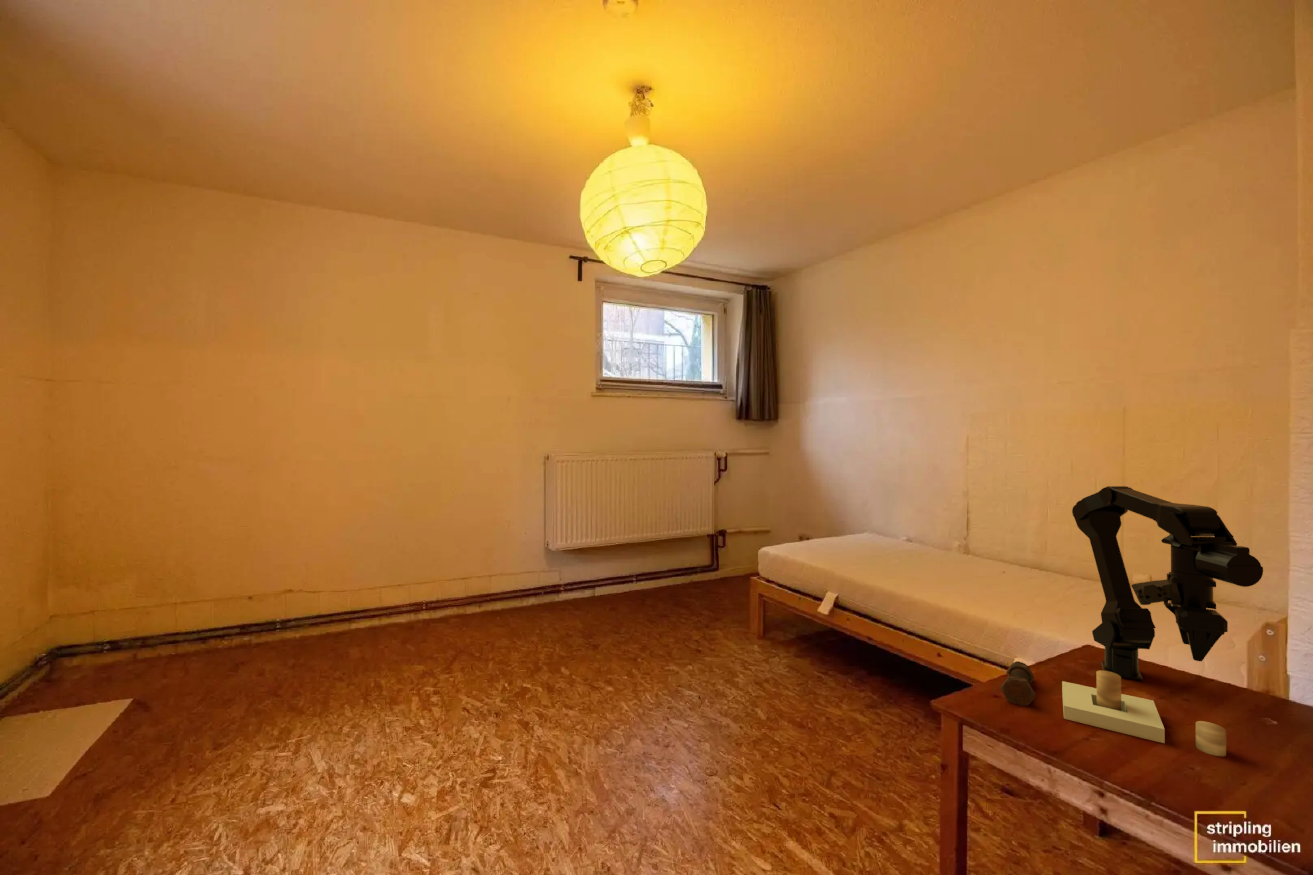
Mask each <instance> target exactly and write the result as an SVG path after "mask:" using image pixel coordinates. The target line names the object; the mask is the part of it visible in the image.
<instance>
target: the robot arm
mask: <svg viewBox="0 0 1313 875" xmlns="http://www.w3.org/2000/svg"><path fill="white" fill-rule="evenodd" d="M1071 510H1072V511H1071V512H1072V513H1071V514H1072V517H1073V518H1074V521H1075V523H1076V525H1077V528H1078V529H1079V530H1080V531H1081V532H1082V533H1083V534H1084V535H1085V536H1086V537H1087V538H1088V539H1089V542H1090V546H1091V550H1092V553H1093V556H1094V558H1093V559H1094V561H1095V564H1096V568H1097V571H1098V576H1099V579H1100V583H1101V587H1102V591H1103V596H1104V598H1105V604H1104V605H1103V607H1102V609H1101V612H1100V618H1101V623H1100V624H1099V625H1097V627H1095V628H1094V629H1093V630H1092V631H1091V632H1092V633H1091V634H1092V637H1093V640H1094V642H1096V643H1098V644H1100V646H1101V645H1102V646H1103V647H1104V661H1102V660H1101V668H1102V670H1103V671H1109V672H1113V673H1116V674H1118V675H1120V676H1121V678H1126V679H1131V680H1136V681H1143V680H1144V678H1143V676H1142V673H1141V671H1140V669H1139V649H1140V650H1150V649H1151V646H1152V643H1153V641H1154V638H1156V637H1155V636H1156V630H1155V629H1156V625H1155V624H1154V621H1153V618H1152V612H1151V610H1149V608H1147V607H1146V608H1145V607H1141V606H1140V605H1142V606H1149V605H1152V604H1153V603H1155V604H1157V603H1163V605H1164V607H1165V608H1166V609H1167V610H1169V611H1170V613H1172V614H1173V615H1174V617H1175V623H1176V624H1177V627H1178V630H1179V634H1180V639H1181V641H1182V643H1183V644H1184V645H1188V646H1189V647H1190V653H1191V656H1192V659H1193V660H1194V661H1196V662H1203V661H1204V659H1205V658H1206V657H1207V655H1208V654H1209V652H1210V651H1211V650H1212V648H1213V647H1214V645H1215V644H1216V643H1217V641H1219V639H1220V638H1221V636H1224V635H1225V633H1228V632H1229V631H1228V628H1229V627H1228V625H1229V624H1228V620H1227V619H1226V618H1225V617H1224V616H1223V615H1222V614H1221V613H1219V612H1218V611H1217V603H1216V602H1215V601H1214V588H1217V581H1216V580H1218V581H1221V582H1225V583H1229V584H1231V585H1235V586H1238V587H1243V588H1246V587H1247V588H1248V587H1252V586H1254V585H1256V584H1257V583H1258V582H1259V581H1260V580H1261V579H1262V577H1263V574H1264V567H1263V566H1262V564H1261V561H1259V559H1257V558H1256V557H1255V556H1253V555H1251V552H1250V551H1251V550H1250V547H1247V546H1243V545H1238V543H1237V541H1236V540H1235V538H1234V535H1233V534H1232V533H1231V531H1230V530H1229V529H1228V527H1227V526H1226V524H1225V523H1224V522H1223V520H1222V518H1221V516H1220V515H1219V514H1218V511H1217V510H1216V509H1214V508H1212V507H1210V506H1206V505H1205V506H1204V505H1197V504H1189V503H1178V502H1177V503H1176V502H1172V501H1168V500H1166V499H1162V498H1159V497H1157V496H1153V495H1151V494H1147V493H1145V492H1143V491H1142V492H1141V491H1138V490H1135V489H1133V488H1132V487H1131V486H1130V487H1129V486H1127V485H1126V486H1125V485H1123V486H1122V485H1117V486H1116V485H1113V486H1112V485H1111V486H1110V485H1109V486H1105V487H1103V488H1100V490H1099V491H1097V492H1095V493H1093V494H1090V495H1087V496H1086V497H1083V498H1081V500H1078V501H1077V502H1076V504H1075V505H1073V507H1072V509H1071ZM1128 512H1132V513H1134V514H1137V515H1140V516H1143V517H1145V518H1148V519H1150V520H1153V521H1154V522H1156V524H1157V527H1158V528H1160V529H1162V531H1165V532H1166V533H1168V535H1166V536H1164V537H1163V538H1162V539H1161V543H1163V544H1167V545H1170V571H1168V572H1167V573H1166V579H1160V580H1150V581H1145V582H1137V583H1133V584H1131V583H1130V579H1129V576H1128V573H1127V570H1126V567H1125V561H1124V559H1123V555H1122V552H1121V549H1120V545H1119V540H1118V538H1117V536H1118V533H1119V531H1120V528H1121V527H1122V521H1121V520H1122V519H1121V517H1123V515H1125V514H1128ZM1132 590H1133V591H1132ZM1133 592H1134V594H1135V596H1136V598H1137V601H1138V602H1139V604H1138V602H1137V601H1136V600H1135V597H1134V594H1133Z"/></svg>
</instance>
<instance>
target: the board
mask: <svg viewBox="0 0 1313 875" xmlns="http://www.w3.org/2000/svg"><path fill="white" fill-rule="evenodd" d="M1061 689H1062V690H1061V695H1062V708H1063V709H1062V711H1063V719H1064V720H1068V721H1073V722H1075V723H1081V724H1085V725H1088V726H1092V727H1097V728H1099V729H1100V728H1101V729H1103V730H1104V729H1105V730H1109V731H1113V732H1117V733H1120V734H1125V735H1128V736H1133V737H1137V738H1141V739H1146V740H1148V741H1154V742H1158V743H1162V744H1165V743H1166V742H1165V741H1166V740H1165V739H1166V738H1165V737H1166V736H1165V735H1166V734H1165V733H1166V732H1165V731H1166V729H1165V727H1164V724H1163V722H1162V719H1161V716H1160V714H1159V712H1158V708H1157V707H1156V703H1155V701H1154V700H1152V699H1147V698H1143V697H1138V696H1134V695H1128V694H1123V693H1121V711H1118V710H1114V709H1109V708H1105V707H1101V706H1097V687H1091V686H1087V685H1082V684H1078V683H1073V682H1068V681H1063V680H1062V681H1061Z"/></svg>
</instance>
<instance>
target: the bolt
mask: <svg viewBox="0 0 1313 875" xmlns="http://www.w3.org/2000/svg"><path fill="white" fill-rule="evenodd" d="M1008 674H1010V675H1009V676H1008ZM1006 675H1007V678H1006V679H1005V680H1004V681H1003V682H1002V684H1001V685H1000V690H1001V692H1002V694H1003V695H1004V697H1005V698H1006V700H1007V701H1008V702H1009V703H1011V704H1014V705H1018V706H1022V707H1028V706H1029V705H1030V704H1031V703H1032V702H1033V700H1034V699H1035V698H1036V692H1035V691H1034V689H1033V687H1032V686H1031V685H1032V684H1031V683H1032V682H1033V681H1034V679H1035V676H1034V673H1033V672H1032V670H1031V669H1030V666H1028V665H1027V664H1026V663H1024V662H1022V661H1014V662H1012V663H1011V664H1010V665H1009V667H1008V668H1007V670H1006Z"/></svg>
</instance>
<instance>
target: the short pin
mask: <svg viewBox="0 0 1313 875" xmlns="http://www.w3.org/2000/svg"><path fill="white" fill-rule="evenodd" d="M1195 747H1196V749H1198V750H1199V751H1201V752H1203V753H1205V754H1208V755H1212V756H1216V757H1226V756H1227V730H1226V728H1224V727H1222V725H1218V724H1216V723H1212V722H1209V721H1203V720H1198V721H1195Z"/></svg>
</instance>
